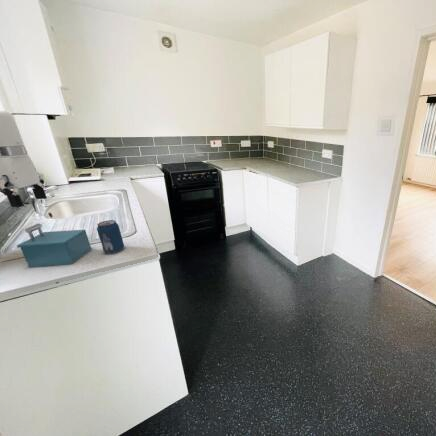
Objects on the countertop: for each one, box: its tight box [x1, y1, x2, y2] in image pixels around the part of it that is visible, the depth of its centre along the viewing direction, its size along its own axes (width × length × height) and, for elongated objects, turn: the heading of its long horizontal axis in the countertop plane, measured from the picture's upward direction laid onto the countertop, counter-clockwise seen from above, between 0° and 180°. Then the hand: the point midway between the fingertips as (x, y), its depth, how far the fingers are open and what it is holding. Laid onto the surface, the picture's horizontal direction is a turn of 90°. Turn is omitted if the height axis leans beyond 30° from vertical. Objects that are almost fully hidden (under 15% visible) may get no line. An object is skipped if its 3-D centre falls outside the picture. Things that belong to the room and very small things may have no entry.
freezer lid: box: [16, 222, 86, 248], centre depth 90 cm, size 15×12×6 cm
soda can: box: [96, 219, 125, 255], centre depth 96 cm, size 7×7×12 cm
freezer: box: [19, 231, 92, 268], centre depth 92 cm, size 14×12×8 cm
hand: (30, 202), depth 85 cm, fingers open, 9 cm apart
